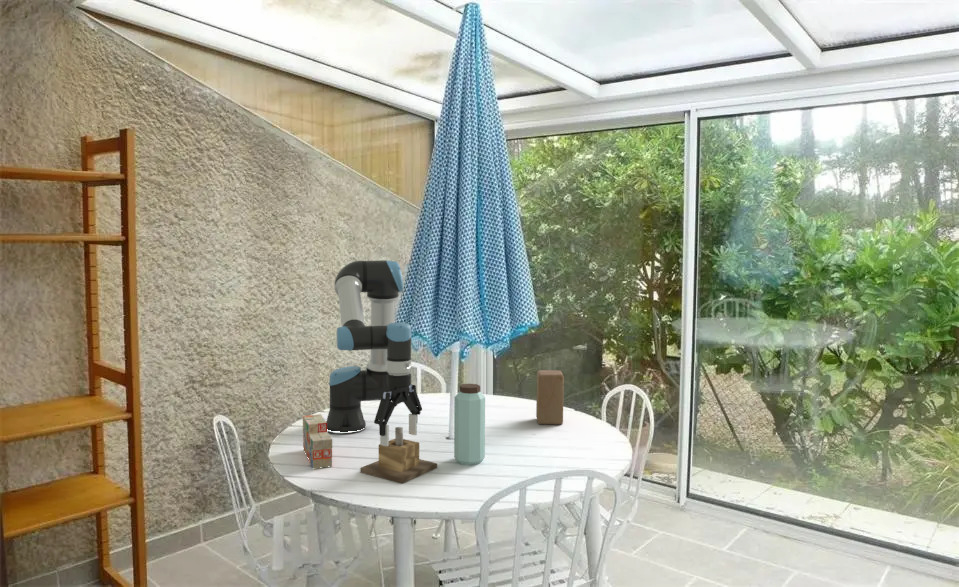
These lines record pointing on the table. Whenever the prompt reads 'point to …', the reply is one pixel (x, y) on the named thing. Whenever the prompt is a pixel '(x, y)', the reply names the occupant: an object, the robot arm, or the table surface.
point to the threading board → (395, 475)
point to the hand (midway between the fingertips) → (399, 439)
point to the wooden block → (550, 397)
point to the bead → (399, 455)
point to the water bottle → (469, 425)
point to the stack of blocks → (317, 441)
